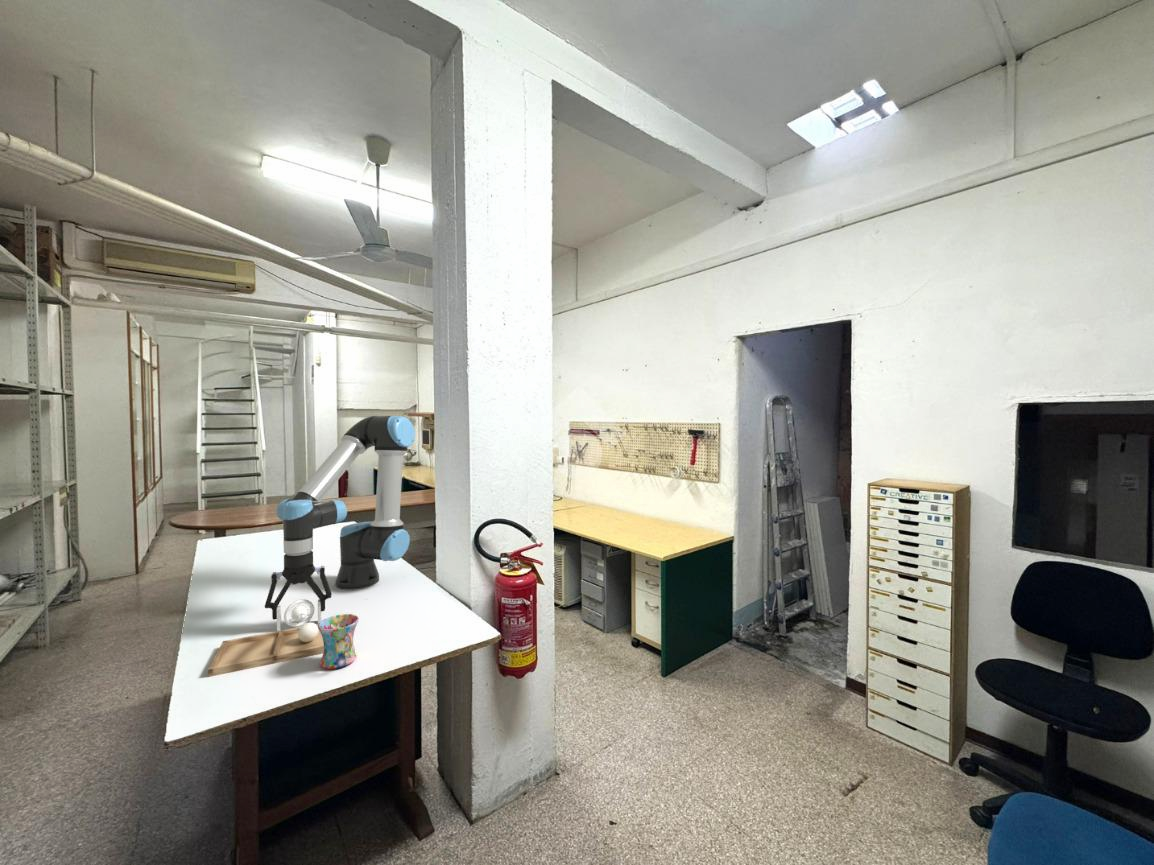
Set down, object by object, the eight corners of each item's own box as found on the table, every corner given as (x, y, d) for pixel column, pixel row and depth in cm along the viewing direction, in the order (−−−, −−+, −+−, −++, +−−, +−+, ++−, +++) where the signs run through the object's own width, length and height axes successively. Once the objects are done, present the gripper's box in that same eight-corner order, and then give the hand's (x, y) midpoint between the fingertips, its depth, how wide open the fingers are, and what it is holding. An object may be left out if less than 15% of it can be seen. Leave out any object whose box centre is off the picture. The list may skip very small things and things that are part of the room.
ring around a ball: (312, 620, 141) (312, 594, 141) (318, 626, 137) (317, 600, 137) (282, 628, 135) (282, 602, 135) (287, 634, 131) (286, 607, 131)
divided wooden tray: (335, 627, 136) (335, 620, 136) (334, 651, 122) (334, 643, 122) (223, 648, 123) (222, 641, 123) (208, 677, 109) (207, 669, 109)
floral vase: (312, 663, 116) (311, 622, 115) (349, 649, 123) (348, 610, 123) (332, 680, 108) (331, 636, 108) (370, 664, 115) (370, 623, 115)
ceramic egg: (319, 635, 129) (318, 618, 129) (318, 642, 125) (318, 625, 125) (298, 639, 127) (298, 621, 127) (297, 647, 123) (297, 628, 122)
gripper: (340, 544, 145) (341, 613, 145) (255, 554, 134) (256, 628, 135) (340, 550, 138) (341, 622, 139) (251, 560, 128) (252, 639, 128)
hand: (299, 625), depth 137 cm, fingers open, 10 cm apart
